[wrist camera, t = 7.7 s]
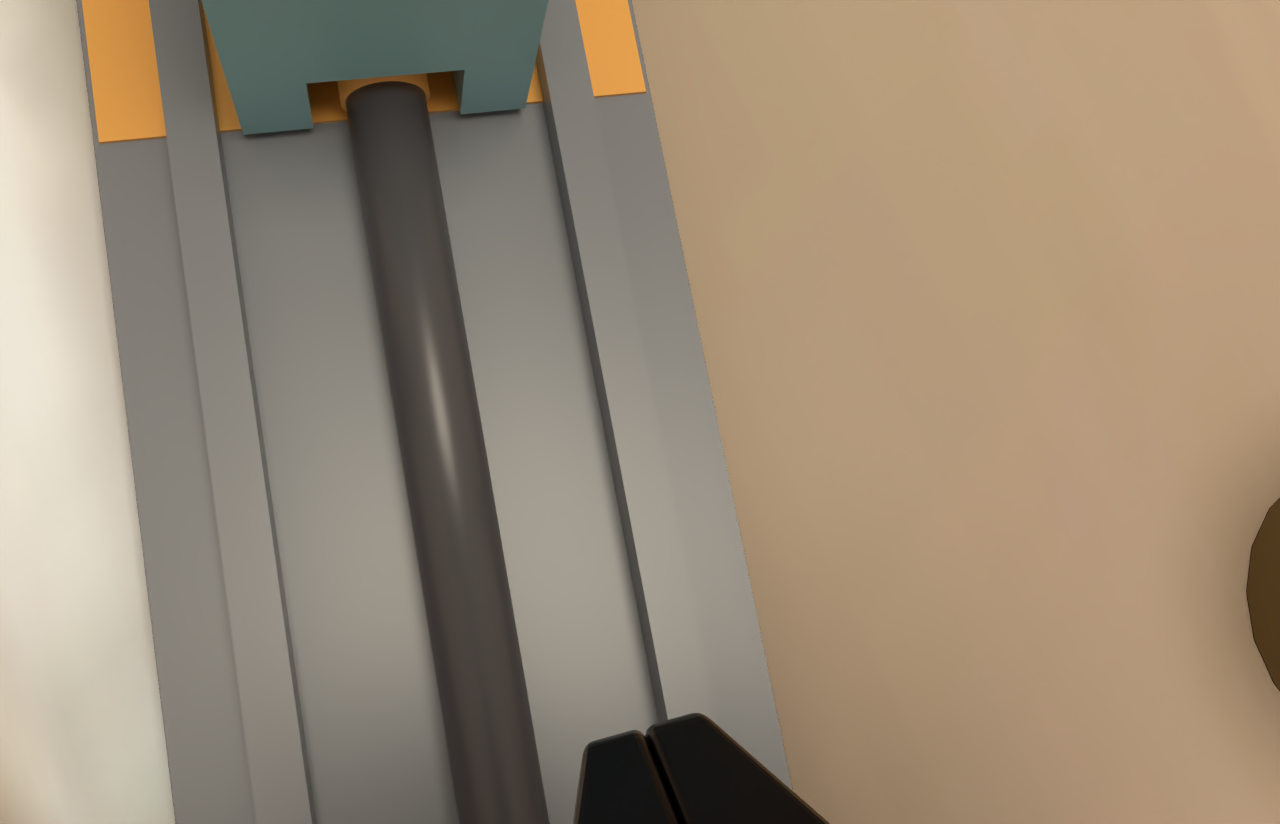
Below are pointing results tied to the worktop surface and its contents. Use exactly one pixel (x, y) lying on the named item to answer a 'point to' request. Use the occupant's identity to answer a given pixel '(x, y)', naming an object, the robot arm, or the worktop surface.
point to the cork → (1266, 591)
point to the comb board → (414, 431)
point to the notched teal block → (371, 50)
